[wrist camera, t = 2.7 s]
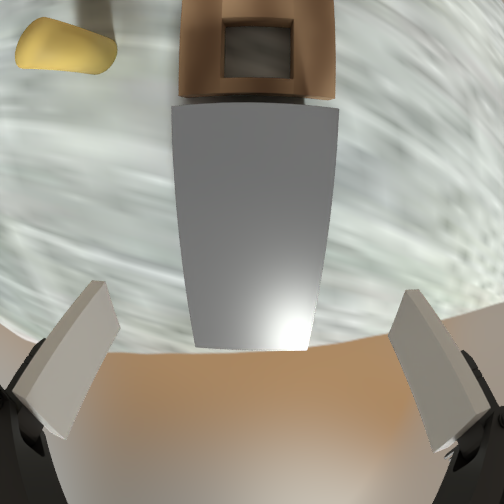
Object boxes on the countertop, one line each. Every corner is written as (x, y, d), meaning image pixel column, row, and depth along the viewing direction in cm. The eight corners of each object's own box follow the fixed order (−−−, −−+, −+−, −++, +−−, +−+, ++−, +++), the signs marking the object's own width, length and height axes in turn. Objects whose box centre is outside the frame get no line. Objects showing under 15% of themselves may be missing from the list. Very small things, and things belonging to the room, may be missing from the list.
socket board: (186, 97, 20) (178, 95, 18) (194, -41, 13) (188, -52, 11) (327, 100, 20) (335, 98, 18) (323, -39, 13) (328, -51, 10)
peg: (83, 78, 19) (12, 76, 10) (85, 44, 17) (18, 30, 8) (116, 69, 18) (48, 56, 10) (118, 33, 17) (55, 8, 8)
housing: (213, 276, 28) (195, 347, 20) (207, 110, 21) (171, 106, 12) (294, 278, 28) (307, 350, 19) (306, 112, 21) (338, 108, 12)
